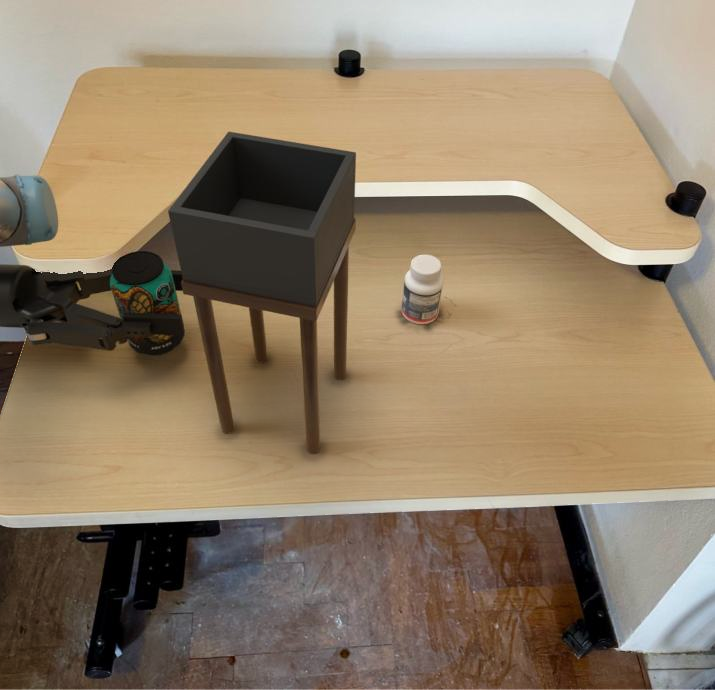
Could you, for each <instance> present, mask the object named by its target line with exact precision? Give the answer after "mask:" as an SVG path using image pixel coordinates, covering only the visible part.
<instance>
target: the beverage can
mask: <svg viewBox="0 0 715 690" xmlns="http://www.w3.org/2000/svg"><path fill="white" fill-rule="evenodd" d="M123 255H124V256H122V257H120V258H119V259H118V260H117V261H116V262H115V263H114V265H113V267H112V276H111V279H110V287H111V293H112V296H113V300H114V302H115V306H116V308H117V312H118V315H119V318H120V319H121V321H124V319H123V315H124V313H150V314H178V315H181V317H182V321H183V322H184V320H183V315H182V311H181V307H180V303H179V299H178V294H177V291H176V289H175V285H174V281H173V277H172V272H171V270H172V269H171V268H170V267H169V265H167V264H166V263H165V262H164V259H162V257H161V256H160V255H159V254H157V253H155V252H152V251H147V250H138V251H132V252H129V253H126V254H123ZM183 326H184V330H185V332H184V336H181V335H153V334H152V336H151V337H147V338H146V337H127V342H128V345H129V346H130V348H131V349H132V351H135V352H136V353H139V354H140V355H144V356H149V357H158V356H164V355H166V354H169V353H170V352H172V351H174V350H175V349H176V348H177V347H178V346H180V345H181V343H182V342H183V340H184V338H185V335H186V329H185V323H183Z"/></svg>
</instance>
